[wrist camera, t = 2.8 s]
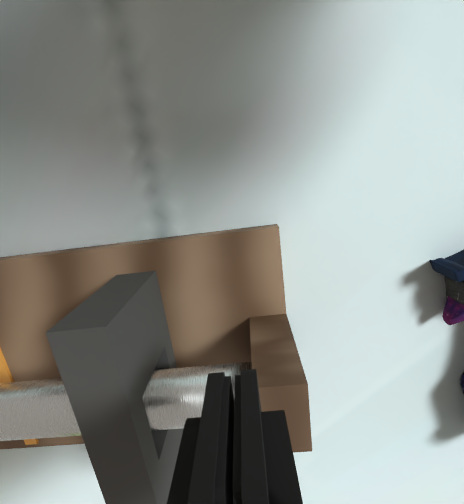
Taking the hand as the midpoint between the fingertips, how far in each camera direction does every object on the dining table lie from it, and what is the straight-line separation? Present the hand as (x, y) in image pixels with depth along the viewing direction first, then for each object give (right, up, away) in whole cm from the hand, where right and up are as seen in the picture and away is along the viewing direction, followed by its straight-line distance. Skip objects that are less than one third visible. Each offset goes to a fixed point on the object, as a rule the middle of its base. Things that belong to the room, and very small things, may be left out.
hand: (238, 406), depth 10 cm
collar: (-5, -2, +9) cm, 11 cm away
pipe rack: (-12, -2, +12) cm, 17 cm away
